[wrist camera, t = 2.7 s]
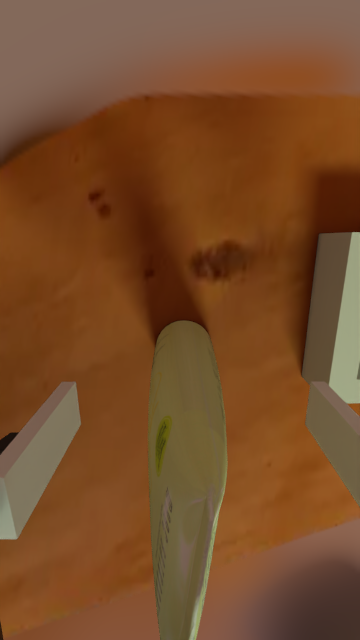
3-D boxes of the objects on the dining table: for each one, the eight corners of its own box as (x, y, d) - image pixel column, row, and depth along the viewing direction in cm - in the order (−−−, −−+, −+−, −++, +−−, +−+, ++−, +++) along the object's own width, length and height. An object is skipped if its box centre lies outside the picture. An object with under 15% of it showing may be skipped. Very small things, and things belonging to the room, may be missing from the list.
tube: (139, 334, 25) (17, 629, 6) (187, 301, 24) (215, 522, 5) (177, 381, 26) (173, 747, 7) (223, 351, 25) (351, 676, 7)
